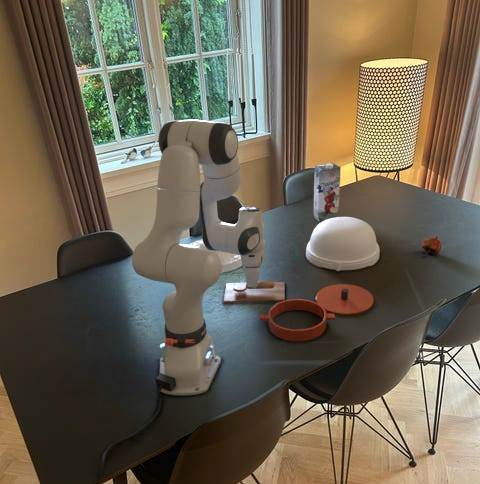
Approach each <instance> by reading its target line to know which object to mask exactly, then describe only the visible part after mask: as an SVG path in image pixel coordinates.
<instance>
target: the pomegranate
mask: <svg viewBox="0 0 480 484" xmlns="http://www.w3.org/2000/svg"><path fill="white" fill-rule="evenodd" d="M421 247H422V249H423V251H424V252H425V255H424V257H427V256H428V254H432V255H433V256H436V255H438V254H439V253H440V252H441V250H442V242H441V241H440V239H438V236H436V237H427V238H425V239H424V240H423V241H422V244H421Z"/></svg>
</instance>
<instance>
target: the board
mask: <svg viewBox="0 0 480 484" xmlns="http://www.w3.org/2000/svg"><path fill="white" fill-rule="evenodd" d="M273 282H274V284H275V286H274V288H272V289H247V290H246V291H244V292H236V291H234V288H233V287H234V285H235V284H238V283H239V282H226V284H225V290H224V295H223V304H227V305H228V304H234V303H275V302H277V303H279V302H282V301H285V300H286V295H285V291H286V290H285V287H286V285H285V283H286V282H285V281H273ZM243 283H244V284H246V282H243Z"/></svg>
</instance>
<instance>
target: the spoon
mask: <svg viewBox="0 0 480 484" xmlns="http://www.w3.org/2000/svg"><path fill="white" fill-rule="evenodd" d="M274 282H275V281H271V280H270V281H258V286H257V288H256V289H272V288H274V286H275V284H274ZM237 283H238V284H235V285H234V287H233V288H234V291H236V292H244V291H246V290H247V289H252V287H248V286H247V283H246V282H237ZM244 283H246V284H244Z"/></svg>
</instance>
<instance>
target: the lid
mask: <svg viewBox="0 0 480 484" xmlns="http://www.w3.org/2000/svg"><path fill="white" fill-rule="evenodd" d="M374 301H375V300H374V296H373V294H372V293H371V292H370V291H369V290H367V289H366V288H364V287H361V286H358V285H356V284H355V285H354V284H348V283H346V284H345V283H338V284H331V285H328V286H325V287H323V288H321V289H319V291H318V292H317V293H316V295H315V302H316V303H318V304H319V305H321V306H322V307H323V308H324V309H325V310H326V312H327V313H330V314H335V315H341V316H352V315H359V314H362V313H365V312H367V311H368V310H370V309H371V308H372V307H373V305H374Z"/></svg>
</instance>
